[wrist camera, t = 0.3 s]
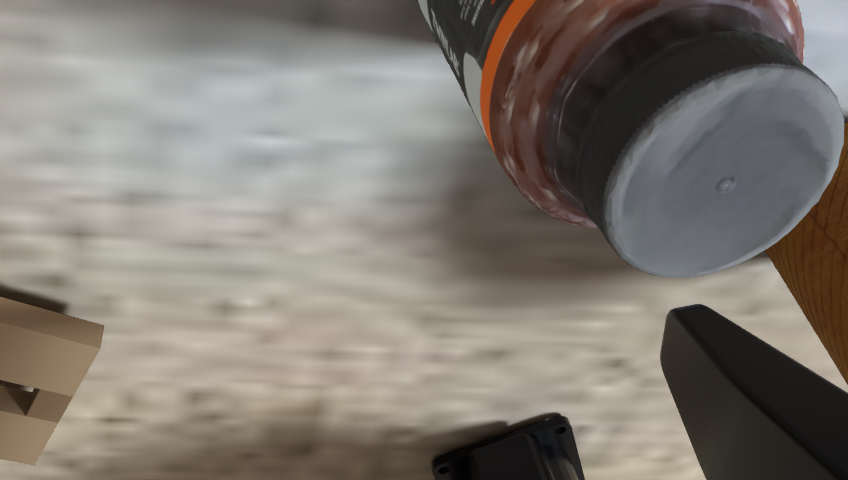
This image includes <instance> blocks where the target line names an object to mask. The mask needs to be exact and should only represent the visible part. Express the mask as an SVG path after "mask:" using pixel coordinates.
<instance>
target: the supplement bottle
mask: <svg viewBox="0 0 848 480" xmlns="http://www.w3.org/2000/svg"><path fill="white" fill-rule="evenodd" d="M418 3H419V5H420V8H421V10H422V13H423V15H424V17H425V19H426V22H427V24H428V26H429V27H430V29H431V31H432V34H433V36H434V37H435V39H436V42H437V43H438V45H439V46H440V48H441V50H442V52H443V54H444V56H445V58H446V60H447V62H448V64H449V65H450V67H451V69H452V71H453V73H454V75H455V77H456V79H457V81H458V83H459V84H460V87H461V89H462V91H463V93H464V96H465V97H466V99H467V101H468V103H469V105H470V107H471V108H472V111H473V113H474V115H475V116H476V118H477V121H478V123H479V125H480V127H481V128H482V130H483V132H484V134H485V137H486V139H487V141H488V142H489V144H490V146H491V148H492V149H493V151H494V153H495V155H496V156H497V158H498V160H499V162H500V164H501V166H502V168H503V169H504V171H505V172H506V174H507V175H508V176H509V178H510V179H511V180H512V182H513V183H514V185H515V186H516V187H517V188H518V190H519V191H520V192H521V194H522V195H523V196H524V197H525V198H527V199H528V200H529V201H530V202H531V203H532V204H534V205H535V206H536V207H537V208H538V209H541V210H543V211H544V212H545V213H546V214H548V215H550V216H551V217H553V218H554V219H558V220H562V221H564V222H566V223H569V224H572V225H578V226H581V227H584V228H599V229H600V230H601V231H602V233H603V234H604V236H605V238H606V240H607V241H608V243H609V244H610V245H611V247H612V248H613V249H614V251H615V252H616V253H617V254H618V255H619V256H620V257H621V258H622V259H623V260H625V261H626V262H627V263H628V264H629V265H631V266H633V267H635V268H636V269H638V270H640V271H643V272H646V273H648V274H651V275H656V276H661V277H671V278H685V277H697V276H703V275H707V274H711V273H715V272H719V271H721V270H724V269H727V268H729V267H732V266H735V265H738V264H741V263H743V262H745V261H746V260H748V259H750V258H752V257H754V256H756V255H757V254H759V253H761V252H762V251H764V250H766V249H767V248H769V247H771V246H772V245H773V244H775V243H776V242H778V241H779V240H780V239H781V238H782V237H784V236H785V235H786V234H788V233H789V232H790V231H791V230H792V229H793V228H794V227H795V226H796V225H797V224H798V223H799V222H800V221H801V220H802V219H803V217H804V216H805V215H806V214H807V213H808V212H809V211H810V209H811V208H812V207H813V206H814V205H815V204H816V203H817V202H818V201H819V199H820V197H821V195H822V194H823V192H824V190H825V189H826V187H827V186H828V184H829V183H830V181H831V180H832V177H833V175H834V173H835V170H836V169H837V167H838V164H839V157H840V154H841V150H842V147H843V144H844V117H843V115H842V112H841V109H840V106H839V103H838V100H837V96H836V95H835V94H834V93H833V91H832V90H831V88H830V87H829V86H828V85H827V84H826V83H825V82H824V81H823V80H822V79H820V78H819V77H818V76H817V75H816V74H814V73H813V72H812V71H811V70H810V69H808V68H807V67H806V66H804V65H803V64H802V63H803V58H804V49H805V46H804V29H803V26H802V19H801V12H800V10H799V6H798V4H797V1H796V0H418Z"/></svg>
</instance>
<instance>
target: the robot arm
mask: <svg viewBox="0 0 848 480" xmlns="http://www.w3.org/2000/svg"><path fill="white" fill-rule="evenodd" d="M660 361H661V366H662V370H663V373H664V376H665V378H666V381H667V383H668V386H669V388H670V391H671V393H672V396H673V398H674V401H675V403H676V406H677V408H678V411H679V413H680V416H681V418H682V421H683V423H684V426H685V428H686V431H687V433H688V436H689V438H690V441H691V443H692V446H693V448H694V451H695V453H696V456H697V458H698V461H699V463H700V466H701V468H702V470H703V473H704V475H705V477H706V480H848V393H847V392H845V391H844V390H842V389H841V388H839V387H837V386H836V385H834V384H832V383H831V382H829V381H828V380H826V379H824V378H823V377H821V376H819V375H818V374H816V373H815V372H813V371H811V370H810V369H808V368H806V367H805V366H803V365H802V364H800V363H798V362H797V361H795V360H793V359H792V358H790V357H788V356H787V355H785V354H784V353H782V352H780V351H779V350H777V349H775V348H774V347H772V346H771V345H769V344H767V343H766V342H764V341H762V340H761V339H759V338H758V337H756V336H754V335H753V334H751V333H749V332H748V331H746V330H745V329H743V328H741V327H740V326H738V325H736V324H735V323H733V322H732V321H730V320H728V319H727V318H725V317H723V316H722V315H720V314H719V313H717V312H715V311H714V310H712V309H710V308H709V307H707V306H704V305H701V304H695V305H690V306H685V307H680V308H675V309H672V310H670V312H669V313H668V314H667V317H666V322H665V328H664V334H663V340H662V346H661V353H660ZM431 467H432V471H433V475H434V477H435V479H436V480H585V478H584V474H583V471H582V467H581V463H580V459H579V455H578V451H577V447H576V443H575V439H574V435H573V431H572V427H571V425H570V422H569V420H568V418H567V417H564V416H559V417H555V418H552V419H549V420H546V421H543V422H540V423H537V424H534V425H532V426H529V427H526V428H523V429H520V430H517V431H514V432H511V433H508V434H505V435H502V436H499V437H496V438H493V439H490V440H487V441H485V442H482V443H479V444H476V445H473V446H470V447H467V448H464V449H461V450H458V451H455V452H452V453H449V454H446V455H443V456H440V457H438V458H436V459H434V460H433V461H432V463H431Z"/></svg>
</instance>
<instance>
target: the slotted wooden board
mask: <svg viewBox="0 0 848 480" xmlns="http://www.w3.org/2000/svg"><path fill="white" fill-rule="evenodd" d="M103 330H104V325H100V324H97V323H93V322H89V321H86V320H82V319H79V318H75V317H71V316H68V315H64V314H61V313H57V312H53V311H50V310H46V309H43V308H39V307H35V306H32V305H28V304H25V303H21V302H17V301H14V300H10V299H7V298H3V297H0V380H2V381H7V382H11V383H16V384H20V385H24V386H29V387H33V388H34V390H33V392H28V391H24V390H20V389H15V388H11V387H6V386H2V385H0V459H4V460H9V461H15V462H20V463H26V464H31V465H35V463H36V461H37V460H38V458H39V456H40V454H41V452H42V451H43V449H44V447H45V445H46V444H47V442H48V440H49V438H50V437H51V435H52V433H53V431H54V429H55V428H56V426H57V424H58V422H59V421H60V419H61V417H62V415H63V413H64V412H65V410H66V408H67V406H68V405H69V403H70V401H71V399H72V397H73V396H74V394H75V392H76V390H77V389H78V387H79V385H80V383H81V382H82V380H83V378H84V376H85V374H86V373H87V371H88V369H89V367H90V366H91V364H92V362H93V360H94V358H95V357H96V355H97V353H98V351H99V350H100V347H101V341H102V335H103Z"/></svg>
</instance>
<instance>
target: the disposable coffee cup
mask: <svg viewBox="0 0 848 480" xmlns="http://www.w3.org/2000/svg"><path fill="white" fill-rule="evenodd" d="M765 251H766V253H767V254H768V256H769V257H770V259H771V261H772V262H773V264H774V266H775V267H776V269H777V270H778V272H779V274H780V275H781V277H782V279H783V280H784V282H785V283H786V285H787V287H788V288H789V290H790V292H791V293H792V295H793V296H794V298H795V300H796V301H797V303H798V305H799V306H800V308H801V309H802V311H803V313H804V314H805V316H806V318H807V320H808V321H809V322H810V324H811V326H812V327H813V329H814V331H815V332H816V334H817V335H818V337H819V339H820V340H821V342H822V344H823V345H824V347H825V348H826V350H827V351H828V353H829V355H830V357H831V358H832V360H833V362H834V363H835V365H836V366H837V368H838V370H839V372H840V373H841V375H842V376H843V378H844V380H845V381H846V383H847V384H848V122H847V123H844V144H843V147H842V150H841V154H840V157H839V164H838V167H837V169H836V170H835V173H834V175H833V177H832V180H831V181H830V183H829V184H828V186H827V187H826V189H825V190H824V192H823V194H822V195H821V197H820V199H819V201H818V202H817V203H816V204H815V205H814V206H813V207H812V208H811V209H810V211H809V212H808V213H807V214H806V215H805V216H804V217H803V219H802V220H801V221H800V222H799V223H798V224H797V225H796V226H795V227H794V228H793V229H792V230H791V231H790V232H789V233H788V234H786V235H785V236H784V237H782V238H781V239H780V240H779V241H778V242H776V243H775V244H773V245H772V246H771V247H769V248H767V249H766V250H765Z"/></svg>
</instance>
